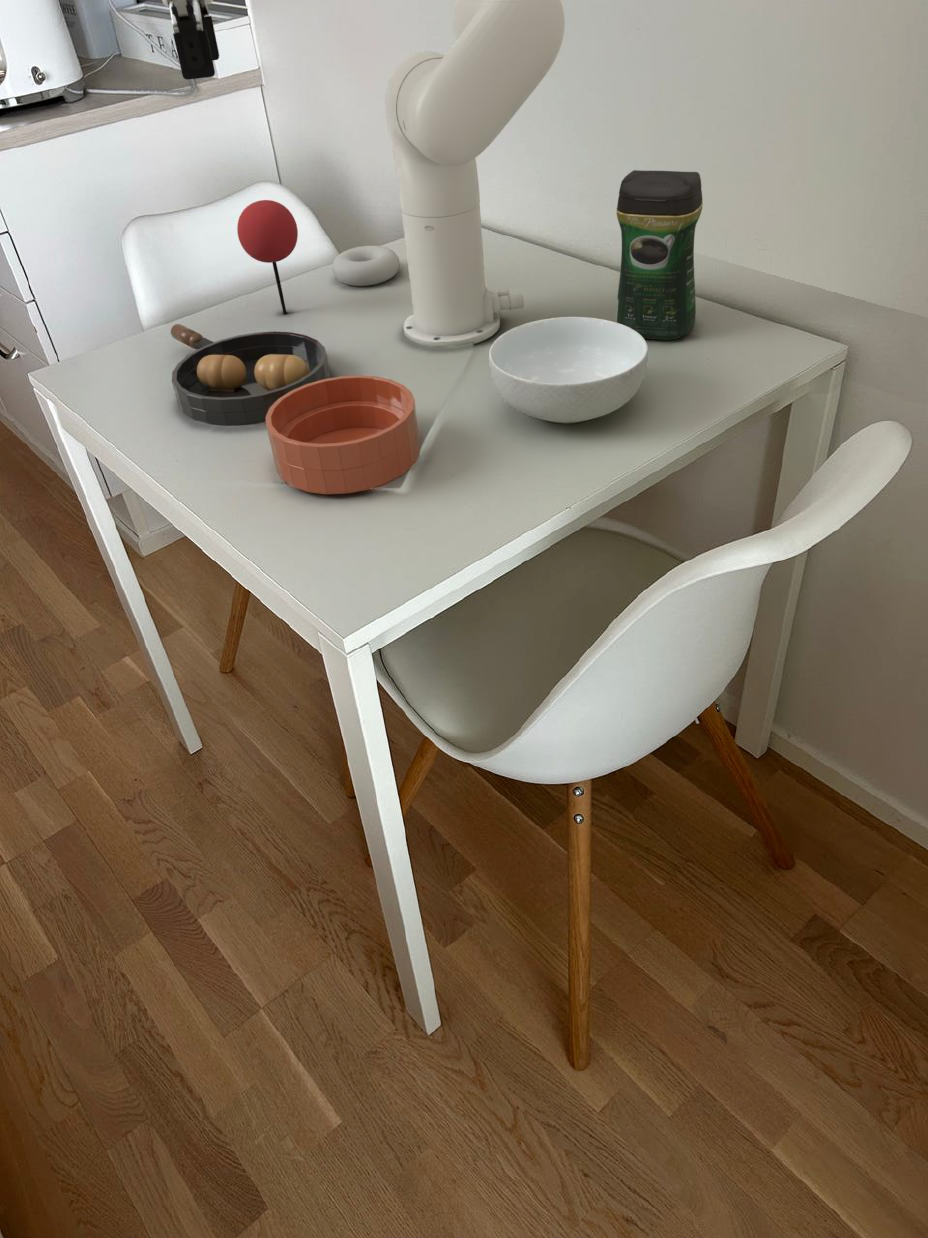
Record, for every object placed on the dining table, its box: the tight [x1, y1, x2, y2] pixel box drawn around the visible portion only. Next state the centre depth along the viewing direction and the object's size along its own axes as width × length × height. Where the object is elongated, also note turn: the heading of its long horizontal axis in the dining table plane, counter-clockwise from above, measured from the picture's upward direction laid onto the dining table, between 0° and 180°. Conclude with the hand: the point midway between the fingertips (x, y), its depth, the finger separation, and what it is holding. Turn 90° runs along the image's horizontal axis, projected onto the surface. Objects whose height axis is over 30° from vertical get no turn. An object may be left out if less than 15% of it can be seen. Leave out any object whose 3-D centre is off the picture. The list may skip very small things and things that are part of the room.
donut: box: [331, 245, 401, 287], centre depth 143 cm, size 10×4×10 cm
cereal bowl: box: [488, 316, 649, 424], centre depth 105 cm, size 17×17×7 cm
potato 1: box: [197, 355, 246, 392], centre depth 116 cm, size 6×4×4 cm, turn 77°
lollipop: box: [236, 199, 299, 315], centre depth 131 cm, size 8×8×15 cm
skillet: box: [171, 331, 332, 427], centre depth 115 cm, size 18×18×4 cm
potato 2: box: [254, 354, 309, 392], centre depth 114 cm, size 7×4×4 cm, turn 77°
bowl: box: [265, 374, 421, 495], centre depth 100 cm, size 15×15×6 cm
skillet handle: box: [170, 323, 215, 350], centre depth 123 cm, size 10×2×2 cm, turn 42°
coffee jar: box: [615, 169, 704, 340], centre depth 115 cm, size 10×8×19 cm
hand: (202, 68), depth 101 cm, fingers open, 9 cm apart
